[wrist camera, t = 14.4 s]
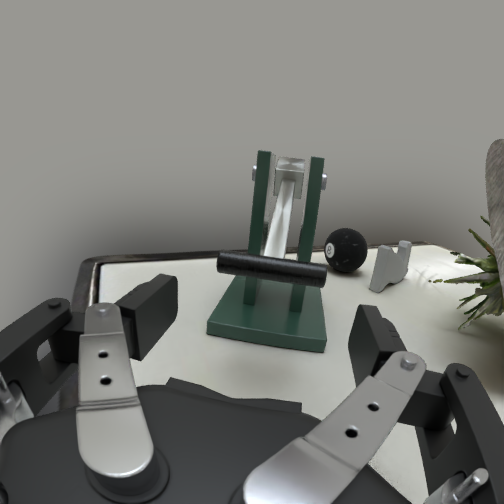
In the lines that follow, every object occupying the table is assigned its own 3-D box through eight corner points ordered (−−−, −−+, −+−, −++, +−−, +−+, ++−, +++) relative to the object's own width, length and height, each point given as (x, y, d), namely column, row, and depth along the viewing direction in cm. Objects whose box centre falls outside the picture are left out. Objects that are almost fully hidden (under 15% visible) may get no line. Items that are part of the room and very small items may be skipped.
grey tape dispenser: (369, 289, 33) (398, 275, 39) (378, 293, 32) (406, 278, 38) (379, 245, 31) (407, 238, 37) (388, 248, 30) (415, 241, 36)
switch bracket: (323, 353, 20) (361, 160, 16) (206, 334, 21) (218, 143, 17) (317, 290, 31) (336, 165, 27) (238, 279, 32) (250, 154, 28)
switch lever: (320, 300, 14) (329, 267, 13) (217, 284, 15) (214, 250, 14) (320, 186, 24) (324, 162, 23) (258, 179, 25) (259, 154, 23)
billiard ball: (370, 276, 37) (379, 235, 36) (338, 279, 35) (346, 234, 34) (345, 262, 43) (351, 224, 41) (313, 264, 41) (320, 223, 39)
